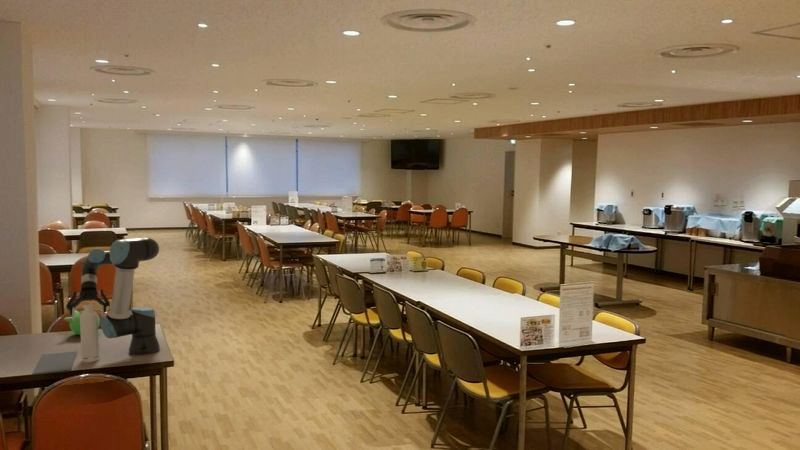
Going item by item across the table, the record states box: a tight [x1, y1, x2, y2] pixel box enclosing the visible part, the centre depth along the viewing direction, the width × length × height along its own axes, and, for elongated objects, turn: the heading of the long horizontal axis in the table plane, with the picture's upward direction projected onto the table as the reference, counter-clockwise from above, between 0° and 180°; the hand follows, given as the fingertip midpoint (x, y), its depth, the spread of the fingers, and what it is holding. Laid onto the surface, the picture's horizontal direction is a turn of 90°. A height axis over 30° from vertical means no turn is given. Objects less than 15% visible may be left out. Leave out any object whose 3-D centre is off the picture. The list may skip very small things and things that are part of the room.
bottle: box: [80, 303, 100, 363], centre depth 313 cm, size 8×8×28 cm
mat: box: [32, 350, 78, 376], centre depth 308 cm, size 32×16×1 cm, turn 23°
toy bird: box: [63, 309, 101, 336], centre depth 361 cm, size 18×17×15 cm
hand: (88, 318), depth 318 cm, fingers open, 13 cm apart
